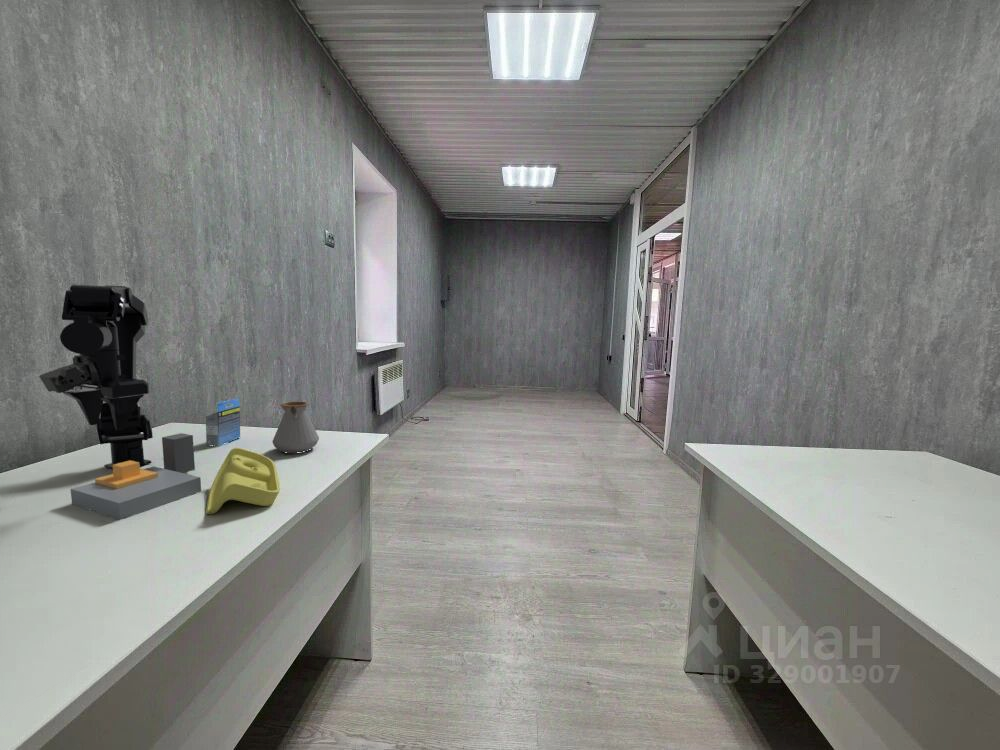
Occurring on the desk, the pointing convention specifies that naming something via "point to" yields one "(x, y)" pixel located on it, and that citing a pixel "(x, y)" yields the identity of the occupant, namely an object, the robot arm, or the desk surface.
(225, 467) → the plastic component
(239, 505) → the desk surface
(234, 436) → the label tape box
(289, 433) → the coffee pot
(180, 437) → the grey box
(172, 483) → the socket board
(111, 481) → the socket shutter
